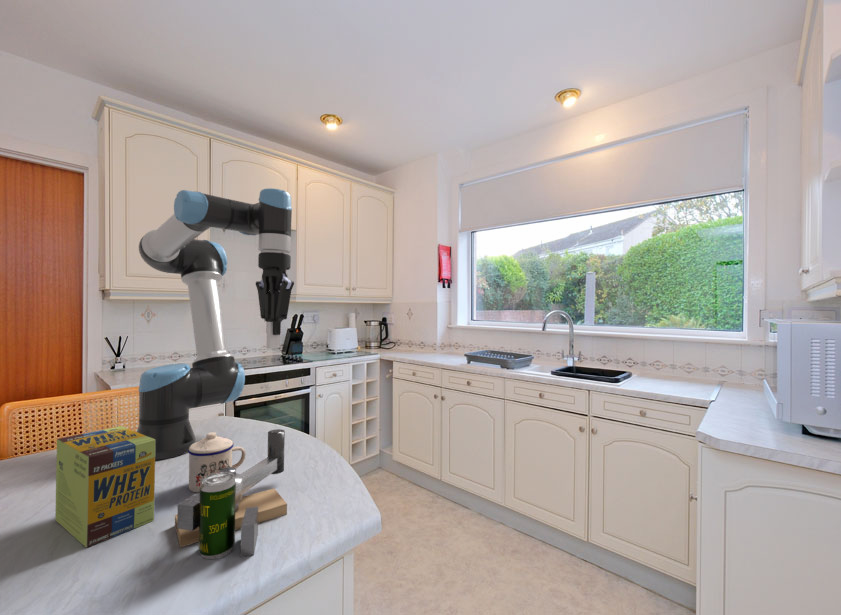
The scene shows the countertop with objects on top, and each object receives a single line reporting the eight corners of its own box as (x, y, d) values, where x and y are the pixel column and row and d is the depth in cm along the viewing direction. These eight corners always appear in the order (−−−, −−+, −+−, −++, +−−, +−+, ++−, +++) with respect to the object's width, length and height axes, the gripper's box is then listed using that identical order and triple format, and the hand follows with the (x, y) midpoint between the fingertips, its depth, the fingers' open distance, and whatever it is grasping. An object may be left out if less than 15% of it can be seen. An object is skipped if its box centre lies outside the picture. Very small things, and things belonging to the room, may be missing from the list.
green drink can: (226, 536, 69) (227, 469, 69) (240, 549, 65) (241, 478, 65) (193, 550, 65) (194, 479, 65) (206, 565, 61) (207, 489, 61)
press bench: (174, 525, 72) (175, 514, 72) (274, 497, 83) (274, 488, 83) (180, 547, 66) (180, 535, 66) (286, 513, 77) (287, 503, 77)
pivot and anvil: (213, 519, 74) (214, 469, 74) (244, 511, 77) (244, 462, 77) (231, 562, 62) (232, 502, 62) (267, 550, 65) (268, 492, 65)
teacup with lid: (192, 498, 82) (193, 443, 82) (183, 483, 89) (184, 432, 89) (251, 482, 90) (252, 431, 90) (239, 469, 97) (239, 422, 97)
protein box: (86, 549, 65) (87, 456, 65) (54, 520, 73) (55, 438, 73) (155, 520, 74) (157, 438, 74) (120, 498, 82) (121, 424, 82)
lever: (198, 537, 63) (199, 482, 63) (171, 533, 64) (172, 479, 64) (290, 468, 91) (290, 430, 90) (270, 466, 92) (270, 428, 92)
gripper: (303, 253, 96) (302, 348, 96) (273, 256, 104) (271, 345, 104) (276, 249, 90) (275, 351, 90) (246, 253, 97) (244, 347, 98)
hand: (273, 347), depth 97 cm, fingers closed
